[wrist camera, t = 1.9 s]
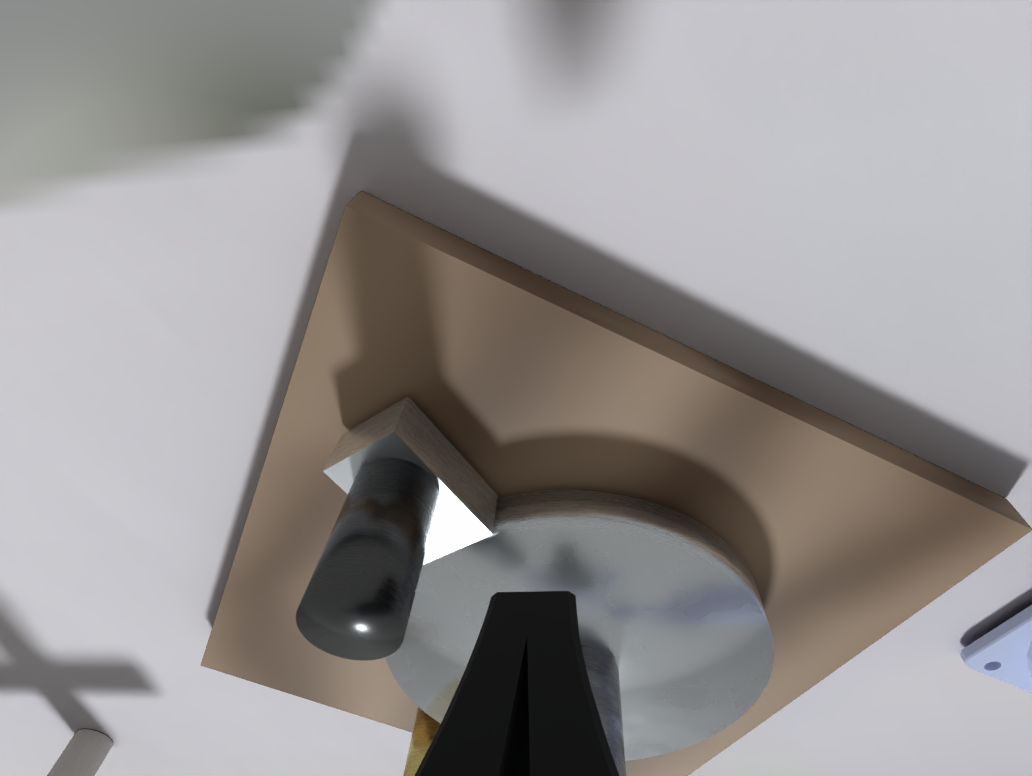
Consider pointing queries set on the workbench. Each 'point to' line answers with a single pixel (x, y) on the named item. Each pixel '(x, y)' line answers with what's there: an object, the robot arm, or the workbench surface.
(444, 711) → the crank
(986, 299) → the workbench surface
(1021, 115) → the workbench surface
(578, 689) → the robot arm
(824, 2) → the workbench surface
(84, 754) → the pipe connector
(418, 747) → the dowel
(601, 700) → the post
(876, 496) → the base board
